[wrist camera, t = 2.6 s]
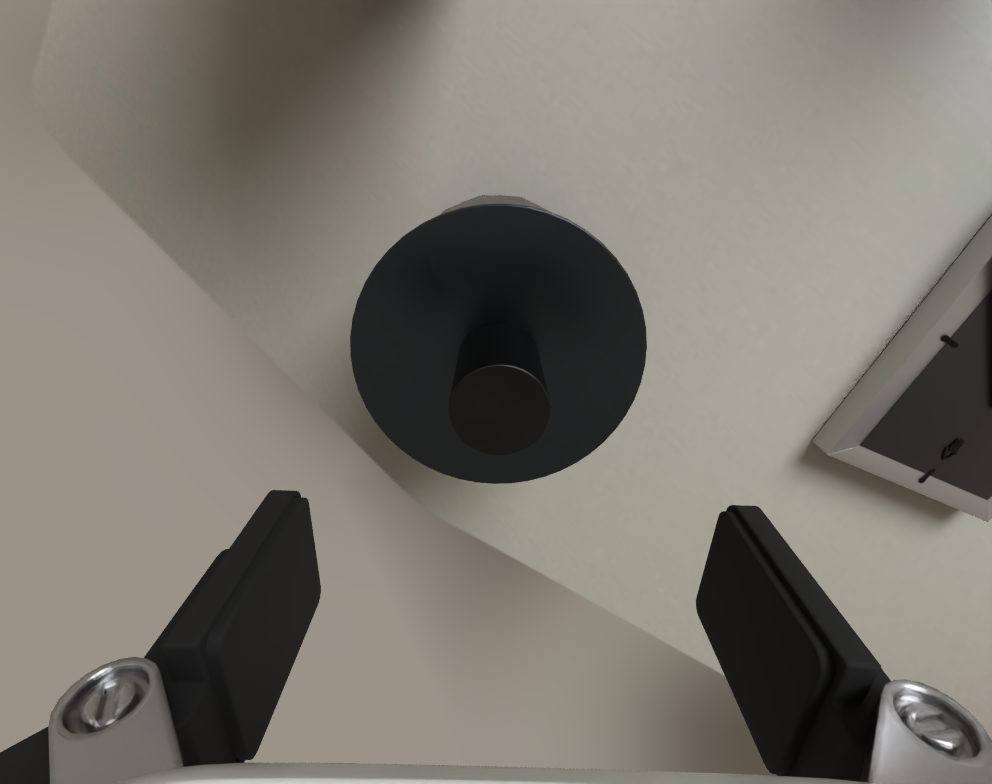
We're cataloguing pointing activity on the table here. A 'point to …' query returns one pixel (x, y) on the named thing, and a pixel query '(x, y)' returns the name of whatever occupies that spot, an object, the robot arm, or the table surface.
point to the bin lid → (498, 343)
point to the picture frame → (930, 394)
